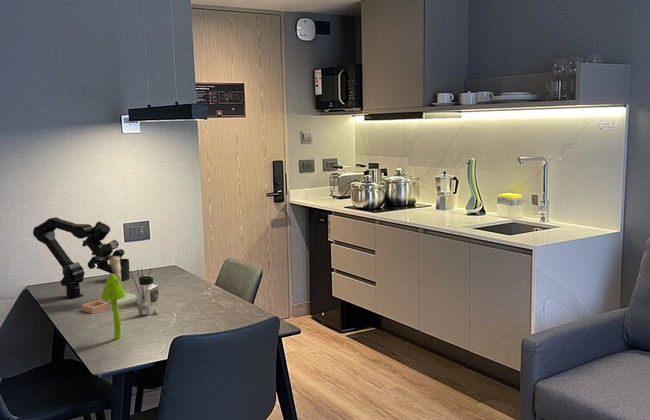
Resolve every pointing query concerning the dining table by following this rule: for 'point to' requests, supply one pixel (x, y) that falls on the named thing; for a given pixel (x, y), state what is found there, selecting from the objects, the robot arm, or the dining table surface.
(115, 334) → the mushroom
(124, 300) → the sage board
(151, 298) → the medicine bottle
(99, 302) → the terracotta socket
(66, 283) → the robot arm
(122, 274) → the pen holder
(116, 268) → the beige ribbed peg
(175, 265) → the dining table surface
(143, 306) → the reed diffuser
